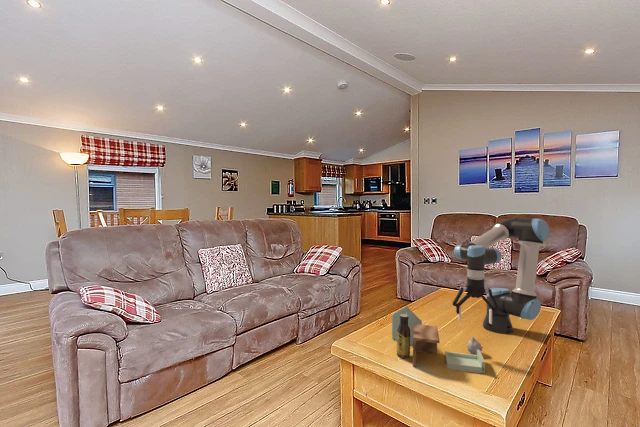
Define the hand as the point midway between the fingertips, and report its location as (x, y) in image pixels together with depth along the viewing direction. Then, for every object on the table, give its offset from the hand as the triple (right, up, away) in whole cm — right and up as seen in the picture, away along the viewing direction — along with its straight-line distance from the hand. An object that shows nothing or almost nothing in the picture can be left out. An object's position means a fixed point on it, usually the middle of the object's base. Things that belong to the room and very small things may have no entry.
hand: (474, 321), depth 159 cm
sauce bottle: (-35, -16, -2) cm, 38 cm away
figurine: (0, -16, +1) cm, 16 cm away
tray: (-10, -16, -10) cm, 21 cm away
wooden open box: (-25, -16, -5) cm, 30 cm away
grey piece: (-27, -15, +15) cm, 35 cm away
